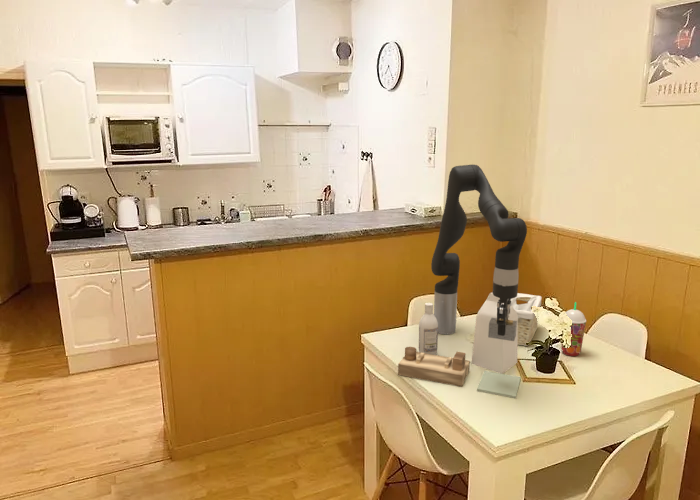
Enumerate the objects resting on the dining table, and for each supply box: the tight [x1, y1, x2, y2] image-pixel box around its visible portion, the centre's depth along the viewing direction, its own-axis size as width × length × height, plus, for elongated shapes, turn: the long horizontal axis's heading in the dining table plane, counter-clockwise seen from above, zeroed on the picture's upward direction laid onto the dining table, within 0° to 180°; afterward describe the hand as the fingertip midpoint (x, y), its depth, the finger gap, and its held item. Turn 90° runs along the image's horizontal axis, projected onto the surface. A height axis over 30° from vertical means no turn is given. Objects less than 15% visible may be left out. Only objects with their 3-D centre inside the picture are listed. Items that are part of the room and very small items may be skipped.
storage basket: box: [511, 292, 543, 347], centre depth 211 cm, size 24×16×15 cm
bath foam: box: [418, 302, 439, 355], centre depth 192 cm, size 7×7×20 cm
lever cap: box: [488, 318, 517, 341], centre depth 166 cm, size 5×8×6 cm, turn 66°
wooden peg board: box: [397, 346, 471, 387], centre depth 178 cm, size 12×22×8 cm, turn 66°
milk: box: [470, 292, 518, 374], centre depth 184 cm, size 12×12×26 cm
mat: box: [476, 370, 522, 399], centre depth 171 cm, size 14×12×1 cm
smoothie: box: [561, 301, 587, 357], centre depth 192 cm, size 8×8×20 cm
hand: (502, 331), depth 167 cm, fingers closed on lever cap, 5 cm apart
